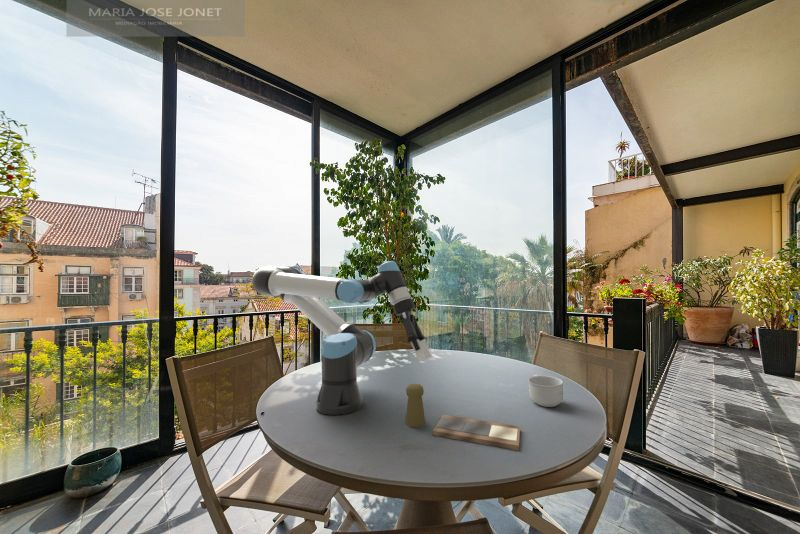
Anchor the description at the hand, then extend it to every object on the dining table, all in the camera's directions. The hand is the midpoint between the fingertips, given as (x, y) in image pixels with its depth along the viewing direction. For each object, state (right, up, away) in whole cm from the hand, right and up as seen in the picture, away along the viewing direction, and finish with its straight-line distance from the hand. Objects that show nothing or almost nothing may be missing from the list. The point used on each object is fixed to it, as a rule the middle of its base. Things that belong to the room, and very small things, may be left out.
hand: (425, 359), depth 108 cm
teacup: (+41, -15, +1) cm, 44 cm away
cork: (-4, -15, -14) cm, 21 cm away
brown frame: (+13, -14, -21) cm, 28 cm away
